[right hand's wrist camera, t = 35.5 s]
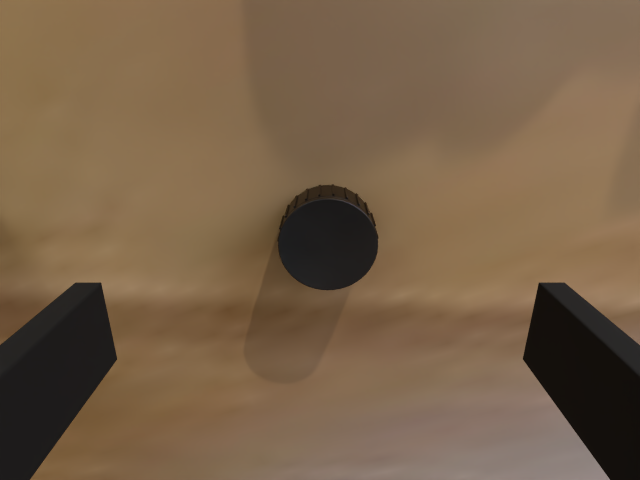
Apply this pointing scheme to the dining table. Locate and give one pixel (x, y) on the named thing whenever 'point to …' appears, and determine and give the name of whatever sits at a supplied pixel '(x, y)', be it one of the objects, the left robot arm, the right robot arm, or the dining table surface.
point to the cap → (328, 238)
